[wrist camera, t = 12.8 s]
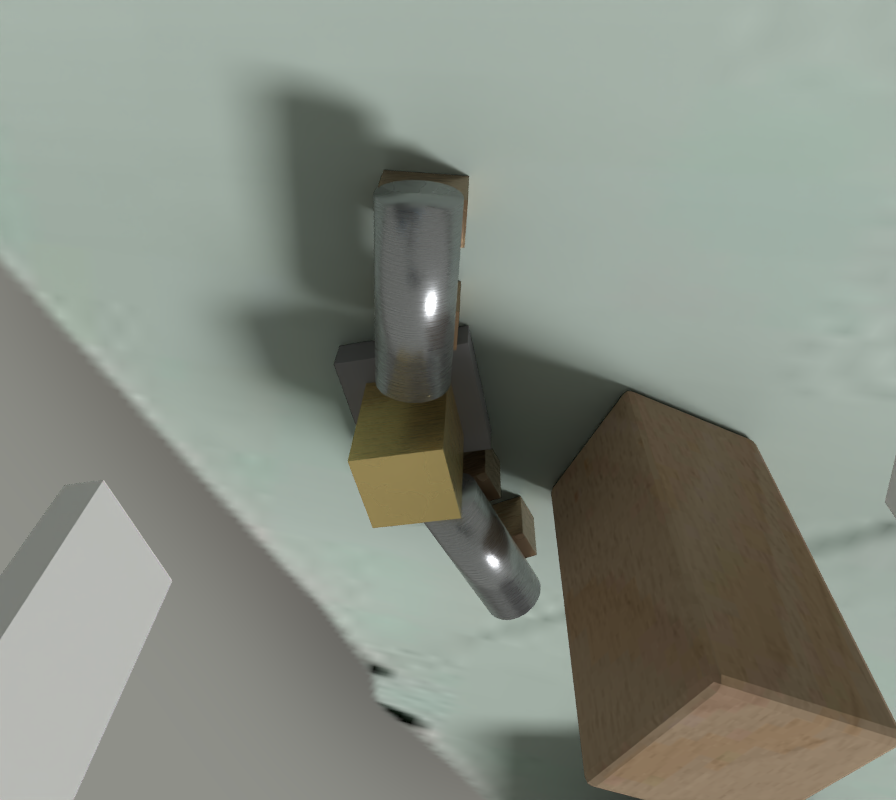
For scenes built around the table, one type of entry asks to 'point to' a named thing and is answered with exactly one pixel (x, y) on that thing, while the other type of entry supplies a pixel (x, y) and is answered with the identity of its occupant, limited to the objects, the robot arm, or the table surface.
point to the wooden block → (702, 621)
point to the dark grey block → (360, 369)
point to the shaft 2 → (491, 540)
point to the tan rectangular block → (408, 459)
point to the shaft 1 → (417, 281)
